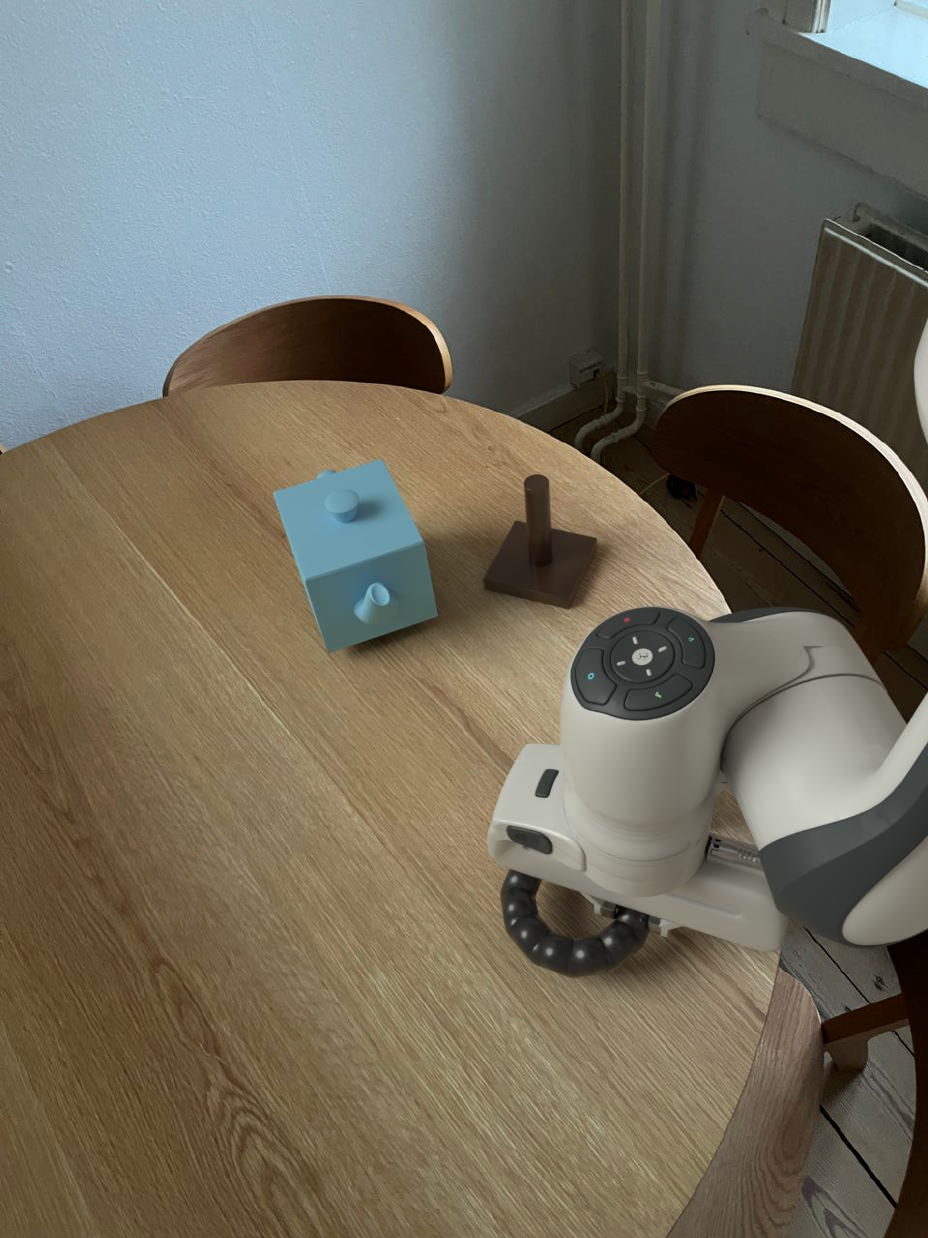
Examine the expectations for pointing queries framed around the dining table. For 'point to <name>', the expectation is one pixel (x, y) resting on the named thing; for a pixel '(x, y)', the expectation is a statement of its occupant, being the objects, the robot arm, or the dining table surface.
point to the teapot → (357, 554)
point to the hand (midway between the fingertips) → (633, 916)
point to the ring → (562, 950)
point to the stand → (540, 554)
